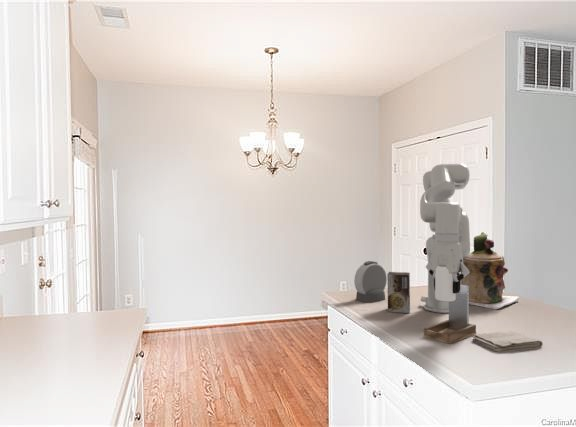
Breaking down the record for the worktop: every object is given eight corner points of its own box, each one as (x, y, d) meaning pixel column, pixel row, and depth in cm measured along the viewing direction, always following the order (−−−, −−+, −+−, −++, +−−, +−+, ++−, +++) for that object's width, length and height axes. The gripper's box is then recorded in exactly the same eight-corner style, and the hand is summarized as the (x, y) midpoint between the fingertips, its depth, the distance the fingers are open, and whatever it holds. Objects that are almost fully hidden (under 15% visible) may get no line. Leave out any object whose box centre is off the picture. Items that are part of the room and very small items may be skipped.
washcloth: (469, 341, 138) (469, 332, 138) (513, 336, 143) (513, 328, 143) (496, 354, 126) (497, 344, 126) (543, 348, 131) (543, 338, 131)
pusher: (448, 327, 149) (448, 283, 149) (450, 327, 150) (450, 283, 149) (466, 332, 144) (467, 286, 143) (468, 331, 144) (468, 286, 144)
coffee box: (410, 309, 177) (410, 272, 177) (409, 313, 171) (409, 274, 171) (388, 308, 180) (388, 271, 180) (387, 311, 174) (387, 273, 174)
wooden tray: (423, 336, 142) (423, 327, 142) (449, 326, 153) (449, 318, 152) (450, 344, 134) (450, 335, 134) (476, 333, 145) (476, 325, 145)
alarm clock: (376, 295, 205) (376, 258, 205) (390, 299, 196) (391, 261, 196) (350, 299, 197) (350, 261, 196) (364, 303, 188) (364, 263, 188)
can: (457, 302, 137) (457, 266, 137) (436, 301, 139) (436, 266, 138) (453, 298, 144) (453, 263, 143) (433, 297, 145) (434, 263, 145)
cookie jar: (444, 300, 194) (444, 232, 193) (467, 292, 210) (468, 230, 210) (499, 310, 176) (500, 235, 175) (520, 301, 192) (521, 232, 191)
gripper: (418, 237, 145) (418, 288, 146) (465, 241, 132) (465, 297, 132) (430, 236, 150) (430, 286, 150) (477, 239, 137) (476, 293, 137)
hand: (446, 290), depth 141 cm, fingers closed on can, 6 cm apart
